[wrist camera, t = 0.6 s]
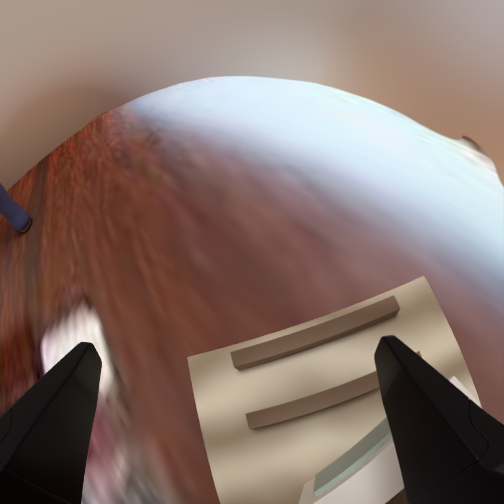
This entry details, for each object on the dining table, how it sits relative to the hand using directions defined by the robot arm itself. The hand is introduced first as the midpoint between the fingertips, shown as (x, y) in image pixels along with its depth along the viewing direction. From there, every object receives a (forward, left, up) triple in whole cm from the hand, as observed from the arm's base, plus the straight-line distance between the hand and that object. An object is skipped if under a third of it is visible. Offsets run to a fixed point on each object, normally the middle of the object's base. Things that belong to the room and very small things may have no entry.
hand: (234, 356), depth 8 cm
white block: (-6, -5, -14) cm, 16 cm away
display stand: (-2, -4, -15) cm, 16 cm away
